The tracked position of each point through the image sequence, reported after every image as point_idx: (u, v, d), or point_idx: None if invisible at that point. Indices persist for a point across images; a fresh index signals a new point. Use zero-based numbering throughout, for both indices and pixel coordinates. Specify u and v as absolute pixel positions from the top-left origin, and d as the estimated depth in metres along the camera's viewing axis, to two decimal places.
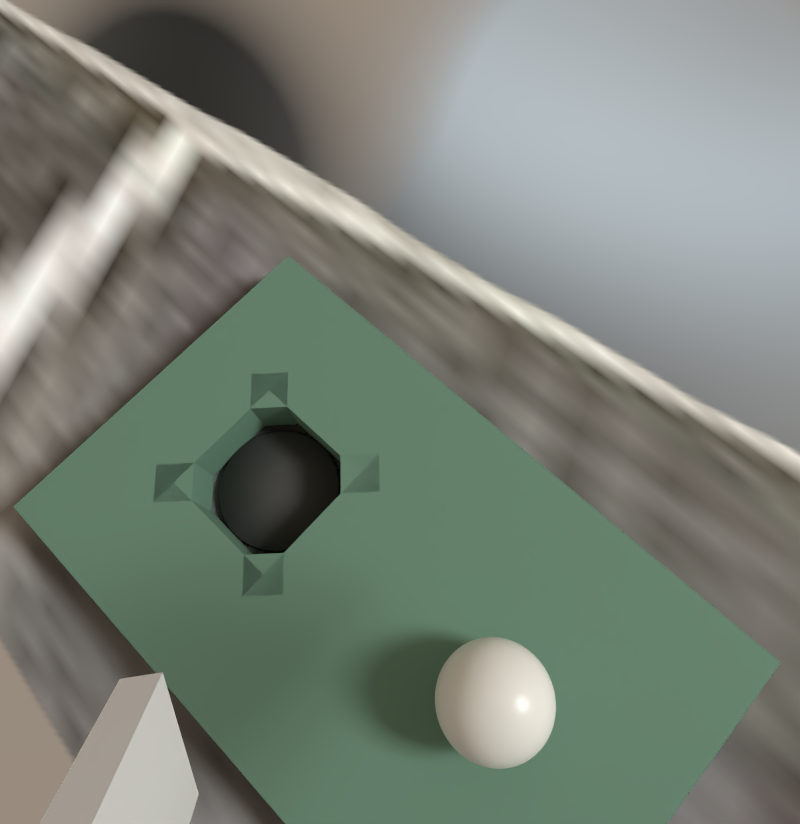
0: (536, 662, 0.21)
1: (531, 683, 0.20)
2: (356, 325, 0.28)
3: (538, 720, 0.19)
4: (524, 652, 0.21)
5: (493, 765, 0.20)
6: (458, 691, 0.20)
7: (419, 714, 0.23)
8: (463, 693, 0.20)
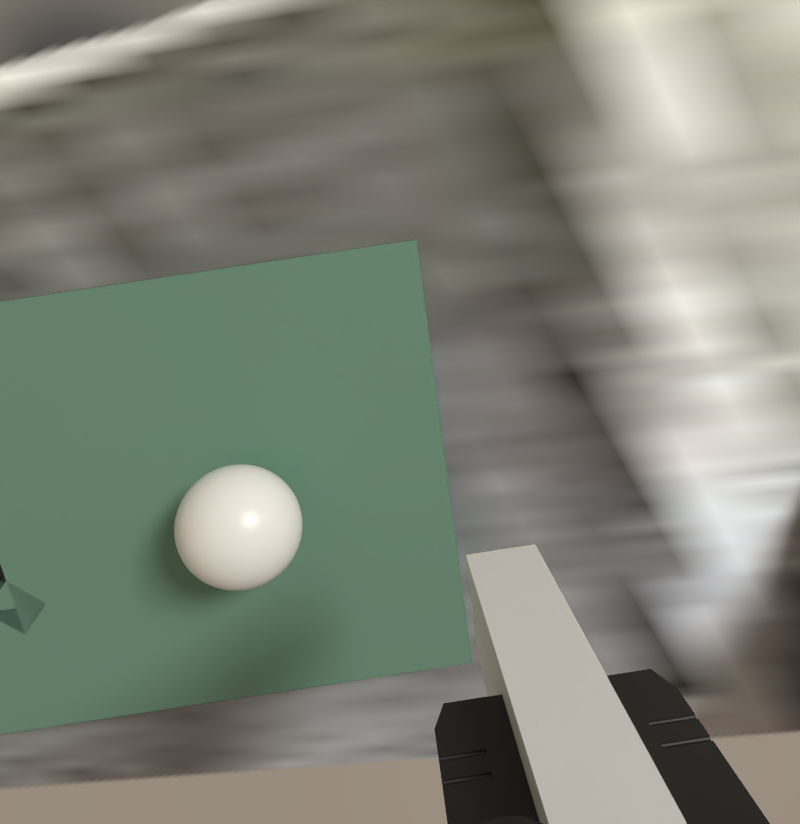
0: (227, 483, 0.19)
1: (231, 512, 0.18)
2: None
3: (263, 528, 0.19)
4: (211, 486, 0.19)
5: (276, 574, 0.20)
6: (194, 570, 0.19)
7: None
8: (197, 570, 0.19)
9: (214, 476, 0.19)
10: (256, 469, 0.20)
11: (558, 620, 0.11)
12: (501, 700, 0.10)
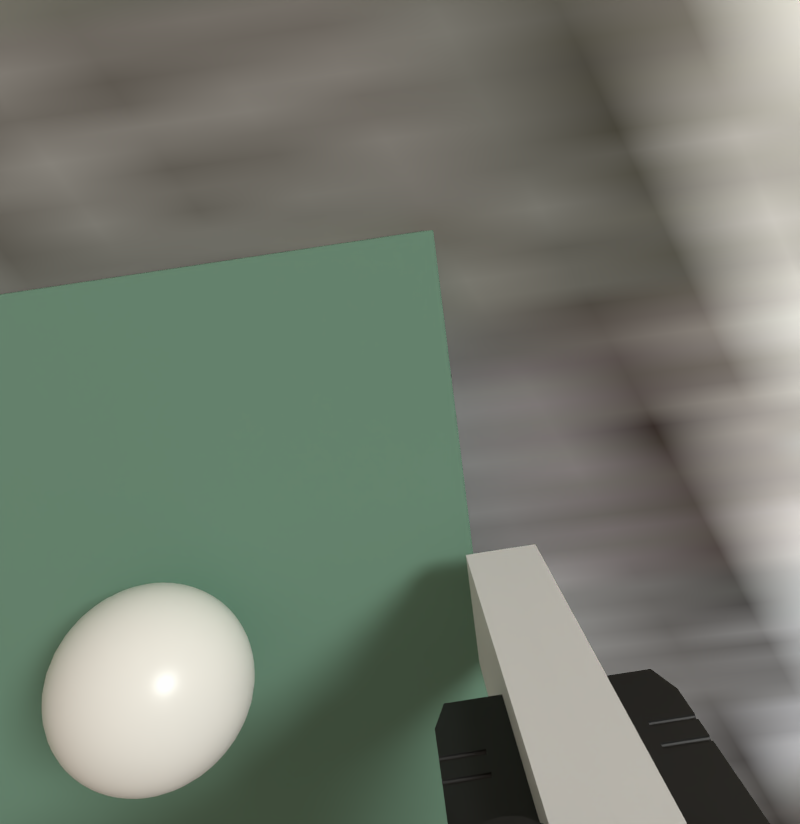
0: (124, 630, 0.12)
1: (125, 688, 0.11)
2: None
3: (181, 710, 0.11)
4: (98, 636, 0.12)
5: (210, 767, 0.12)
6: (70, 775, 0.11)
7: None
8: (74, 777, 0.11)
9: (106, 614, 0.12)
10: (178, 597, 0.12)
11: (558, 620, 0.11)
12: (501, 700, 0.10)
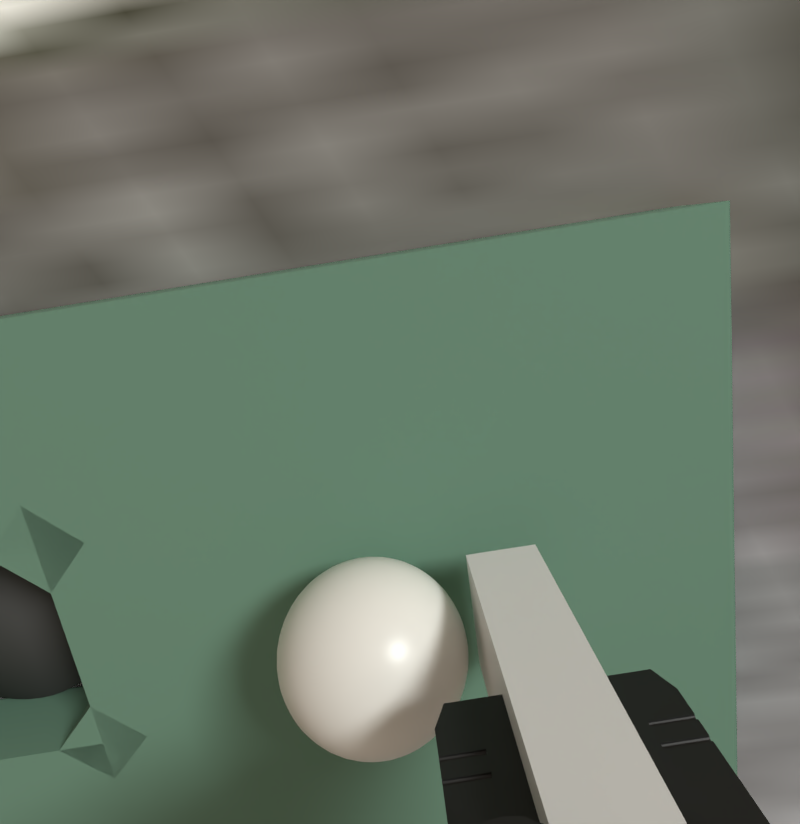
0: (333, 596, 0.12)
1: (308, 649, 0.12)
2: None
3: (342, 696, 0.11)
4: (318, 591, 0.12)
5: (384, 760, 0.12)
6: None
7: None
8: None
9: (335, 574, 0.13)
10: (393, 587, 0.12)
11: (558, 620, 0.11)
12: (501, 700, 0.10)
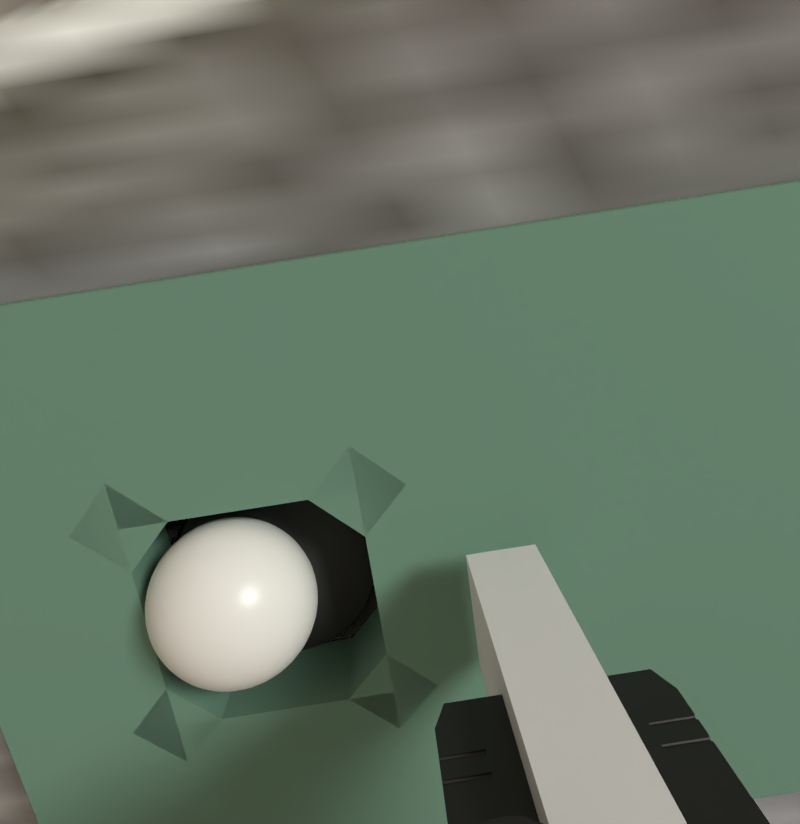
0: (199, 552, 0.14)
1: (190, 599, 0.13)
2: (88, 317, 0.13)
3: (231, 627, 0.13)
4: (181, 553, 0.14)
5: (266, 680, 0.14)
6: None
7: (700, 626, 0.16)
8: (161, 660, 0.14)
9: (193, 537, 0.14)
10: (250, 532, 0.14)
11: (558, 620, 0.11)
12: (501, 700, 0.10)
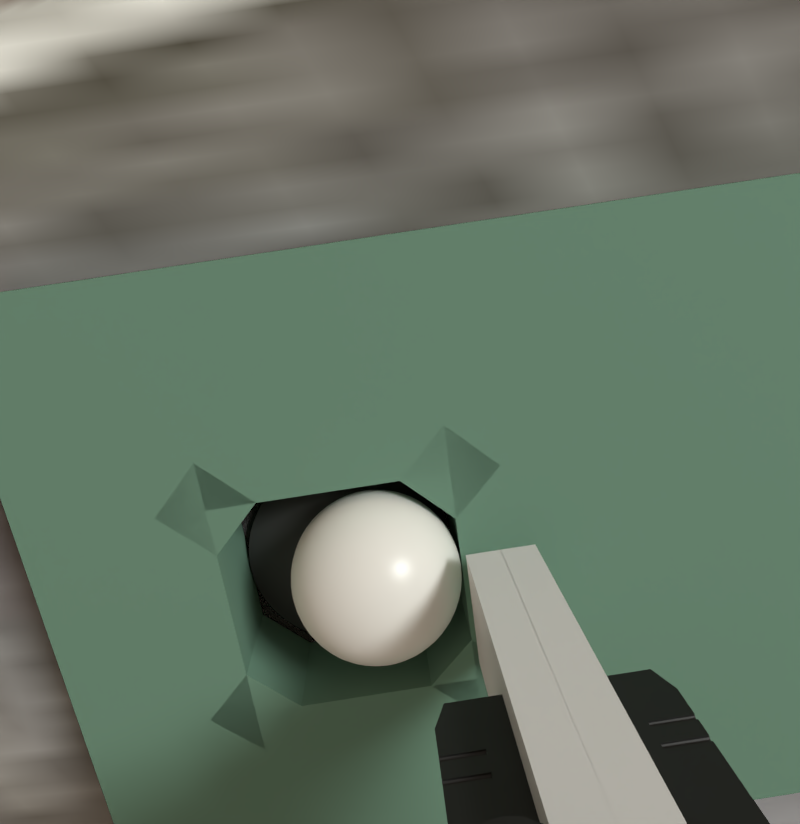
0: (381, 516, 0.14)
1: (405, 557, 0.13)
2: (185, 290, 0.13)
3: (444, 571, 0.14)
4: (361, 524, 0.13)
5: None
6: (351, 648, 0.13)
7: (788, 612, 0.15)
8: (358, 647, 0.13)
9: (354, 510, 0.14)
10: (397, 493, 0.15)
11: (558, 620, 0.11)
12: (501, 700, 0.10)
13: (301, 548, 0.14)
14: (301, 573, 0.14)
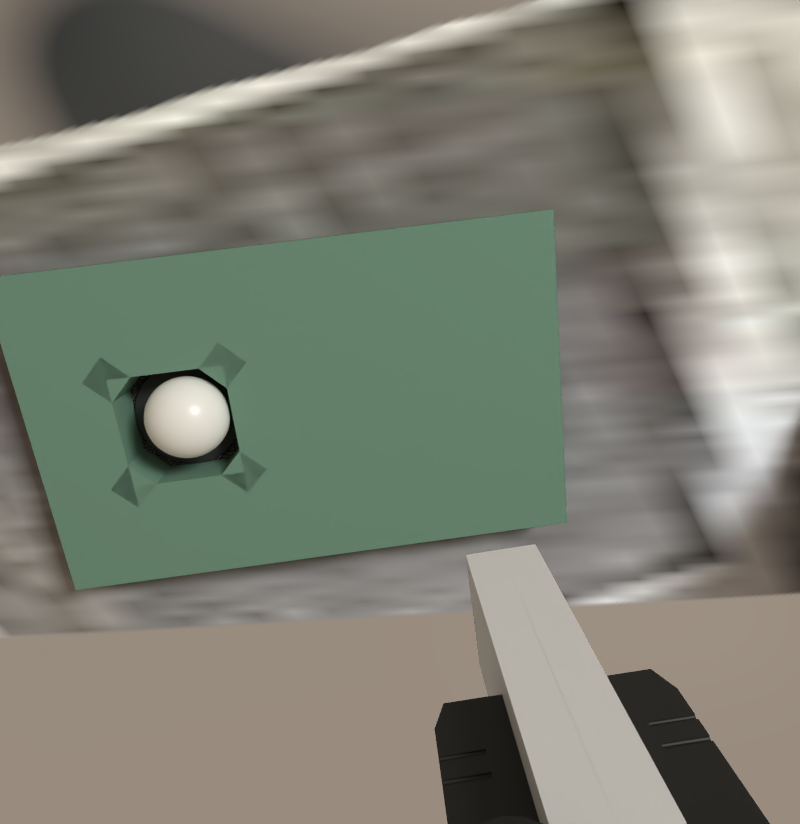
0: (182, 384, 0.29)
1: (187, 401, 0.29)
2: (94, 276, 0.28)
3: (209, 410, 0.29)
4: (171, 387, 0.29)
5: (216, 445, 0.30)
6: (163, 442, 0.29)
7: (397, 442, 0.31)
8: (166, 441, 0.29)
9: (171, 381, 0.30)
10: None
11: (558, 620, 0.11)
12: (501, 700, 0.10)
13: (148, 399, 0.30)
14: (145, 409, 0.30)
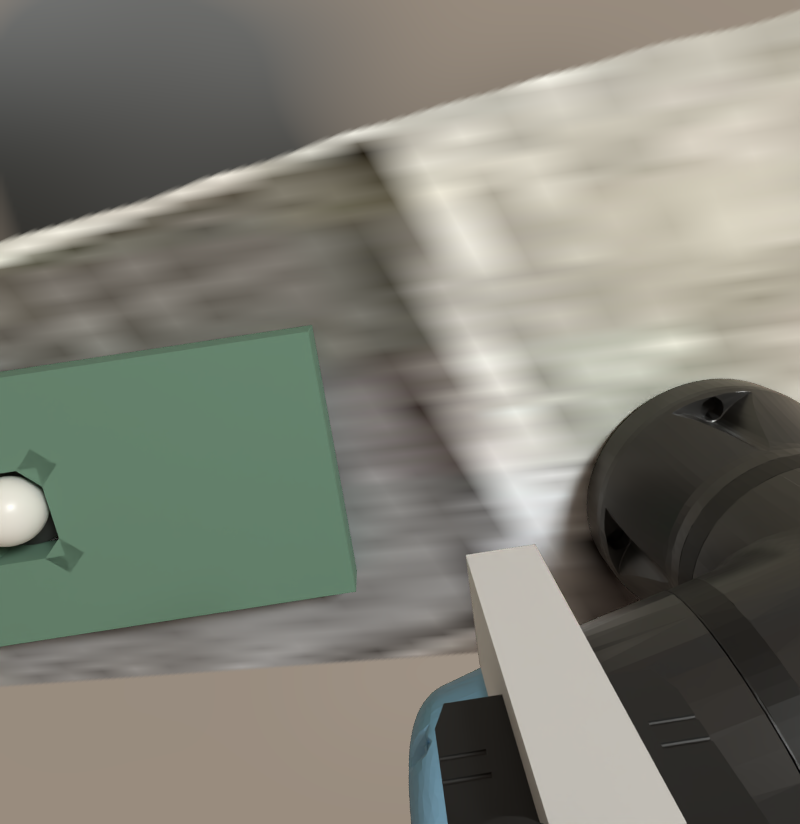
0: None
1: None
2: None
3: (16, 509, 0.34)
4: None
5: (31, 536, 0.35)
6: None
7: (196, 527, 0.36)
8: None
9: None
10: (16, 478, 0.35)
11: (558, 620, 0.11)
12: (501, 700, 0.10)
13: None
14: None
